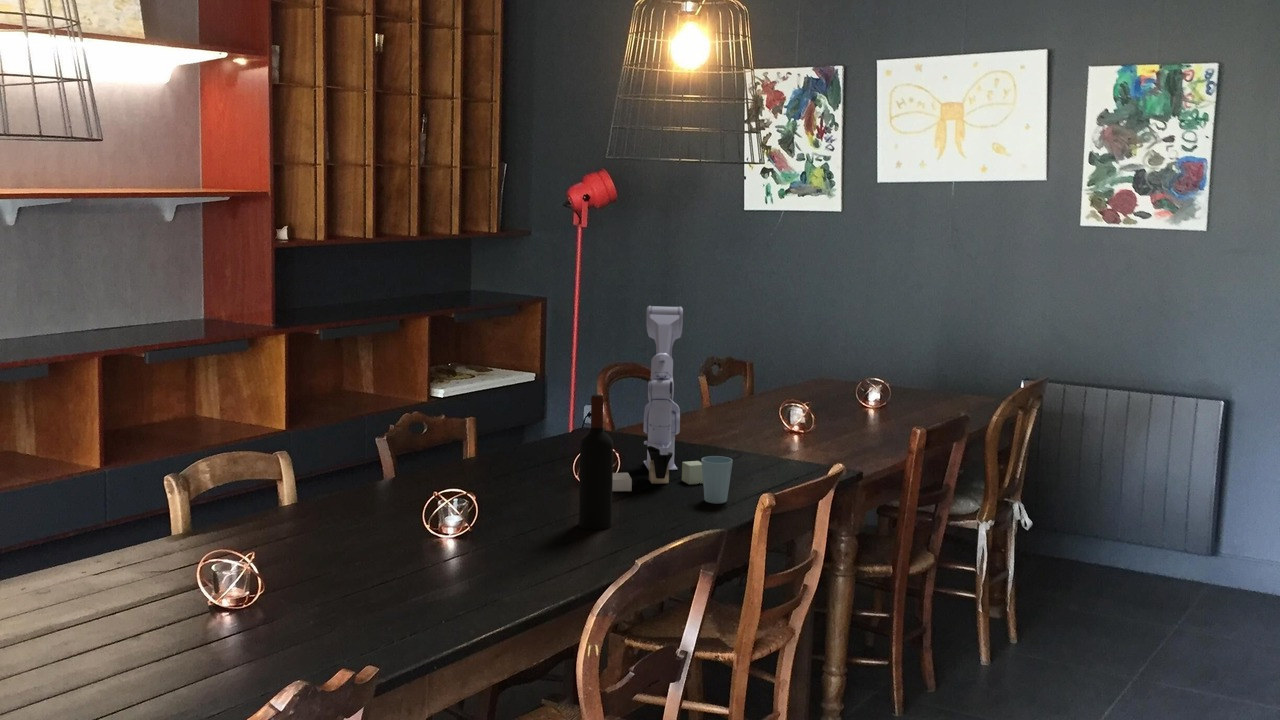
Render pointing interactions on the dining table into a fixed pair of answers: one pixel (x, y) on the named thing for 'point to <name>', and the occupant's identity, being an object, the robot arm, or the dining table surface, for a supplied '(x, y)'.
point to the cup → (716, 478)
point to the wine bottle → (596, 472)
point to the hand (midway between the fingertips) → (658, 475)
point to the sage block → (692, 472)
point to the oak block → (653, 476)
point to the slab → (622, 482)
